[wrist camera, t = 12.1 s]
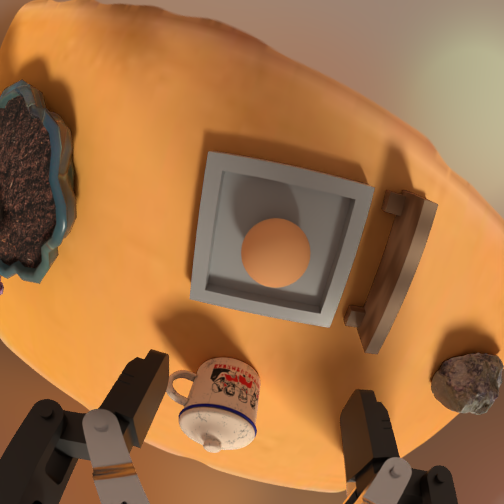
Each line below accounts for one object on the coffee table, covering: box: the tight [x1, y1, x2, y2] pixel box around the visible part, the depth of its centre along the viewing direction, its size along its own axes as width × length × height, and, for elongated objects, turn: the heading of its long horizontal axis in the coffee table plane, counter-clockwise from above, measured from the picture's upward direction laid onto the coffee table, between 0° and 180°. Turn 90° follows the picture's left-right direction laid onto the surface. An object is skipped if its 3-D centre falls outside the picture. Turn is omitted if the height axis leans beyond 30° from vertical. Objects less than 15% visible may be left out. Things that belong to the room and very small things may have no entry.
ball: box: [241, 218, 310, 288], centre depth 25 cm, size 6×6×6 cm
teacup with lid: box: [166, 357, 260, 453], centre depth 30 cm, size 12×9×12 cm
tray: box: [190, 151, 375, 328], centre depth 27 cm, size 15×15×2 cm
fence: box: [344, 190, 438, 354], centre depth 26 cm, size 16×5×5 cm, turn 170°
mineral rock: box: [431, 352, 504, 415], centre depth 28 cm, size 13×11×10 cm
